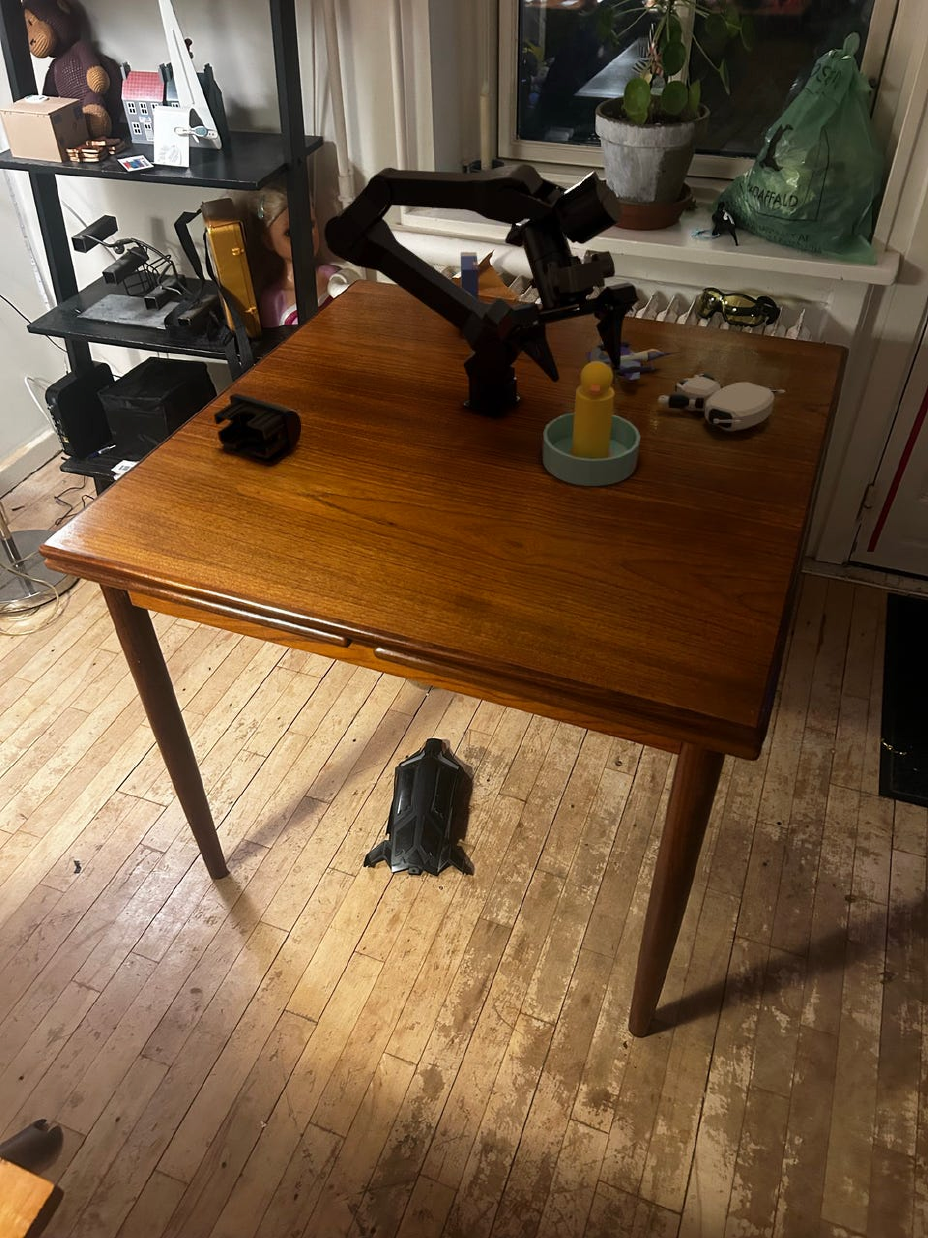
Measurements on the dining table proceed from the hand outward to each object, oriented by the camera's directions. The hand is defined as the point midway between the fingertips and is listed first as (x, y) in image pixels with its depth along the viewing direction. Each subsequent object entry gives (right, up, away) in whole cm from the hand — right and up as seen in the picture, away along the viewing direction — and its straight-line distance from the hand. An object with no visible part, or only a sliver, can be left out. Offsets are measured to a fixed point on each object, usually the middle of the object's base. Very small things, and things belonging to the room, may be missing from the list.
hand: (587, 373), depth 122 cm
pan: (+1, -10, +7) cm, 12 cm away
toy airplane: (+10, +7, +26) cm, 28 cm away
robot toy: (+21, -2, +15) cm, 26 cm away
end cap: (-45, -8, +11) cm, 47 cm away
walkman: (-15, +18, +40) cm, 46 cm away
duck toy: (+1, -10, +6) cm, 12 cm away
